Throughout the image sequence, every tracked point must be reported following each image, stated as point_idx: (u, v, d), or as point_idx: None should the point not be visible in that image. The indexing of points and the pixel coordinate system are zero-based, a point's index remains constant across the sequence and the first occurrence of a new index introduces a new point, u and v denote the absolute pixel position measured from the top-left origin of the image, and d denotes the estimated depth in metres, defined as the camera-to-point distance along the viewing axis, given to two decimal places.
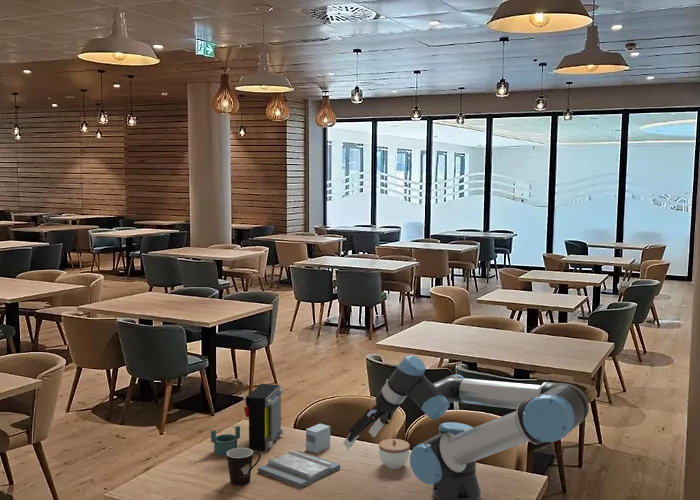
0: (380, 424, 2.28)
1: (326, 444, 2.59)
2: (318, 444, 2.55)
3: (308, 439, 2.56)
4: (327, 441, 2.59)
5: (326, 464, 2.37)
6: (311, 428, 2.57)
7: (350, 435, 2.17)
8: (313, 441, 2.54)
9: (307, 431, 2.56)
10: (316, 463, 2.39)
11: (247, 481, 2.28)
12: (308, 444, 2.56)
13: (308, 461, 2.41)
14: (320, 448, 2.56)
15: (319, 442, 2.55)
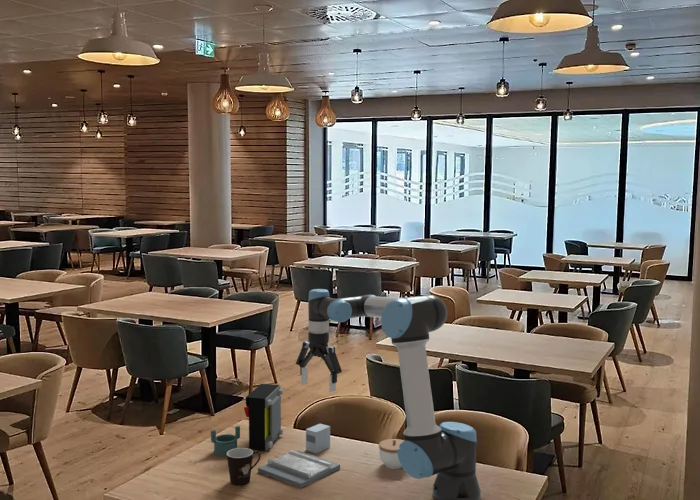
0: None
1: (326, 444, 2.59)
2: (318, 444, 2.55)
3: (308, 439, 2.56)
4: (327, 441, 2.59)
5: (326, 464, 2.37)
6: (311, 428, 2.57)
7: None
8: (313, 441, 2.54)
9: (307, 431, 2.56)
10: (316, 463, 2.39)
11: (247, 481, 2.28)
12: (308, 444, 2.56)
13: (308, 461, 2.41)
14: (320, 448, 2.56)
15: (319, 442, 2.55)
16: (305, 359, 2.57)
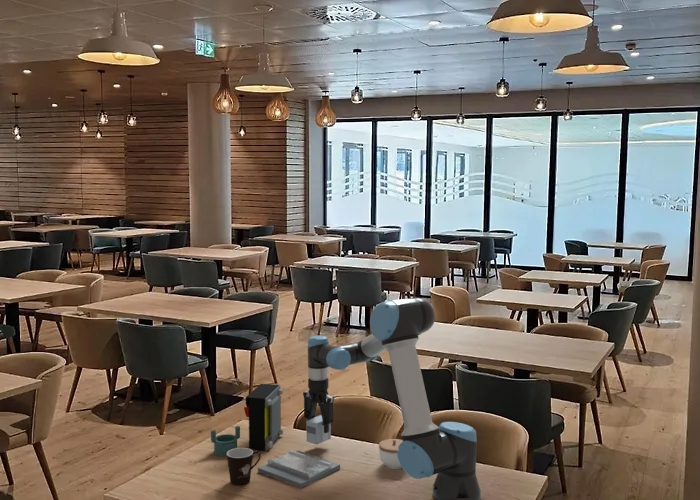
0: None
1: None
2: (319, 436, 2.54)
3: (308, 431, 2.55)
4: (328, 433, 2.58)
5: (326, 464, 2.37)
6: (311, 420, 2.56)
7: None
8: (313, 432, 2.53)
9: (307, 422, 2.55)
10: (316, 463, 2.39)
11: (247, 481, 2.28)
12: (309, 435, 2.55)
13: (308, 461, 2.41)
14: (321, 439, 2.55)
15: (320, 433, 2.55)
16: (310, 410, 2.58)
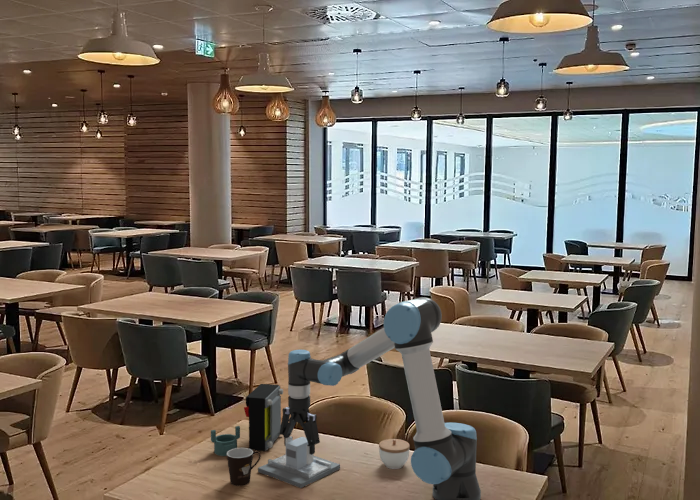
0: None
1: None
2: (299, 460, 2.35)
3: (288, 454, 2.36)
4: None
5: (326, 464, 2.37)
6: (291, 442, 2.37)
7: None
8: (293, 456, 2.34)
9: (287, 445, 2.36)
10: (316, 463, 2.39)
11: (247, 481, 2.28)
12: (288, 459, 2.36)
13: None
14: (302, 463, 2.36)
15: (300, 457, 2.35)
16: (288, 427, 2.39)
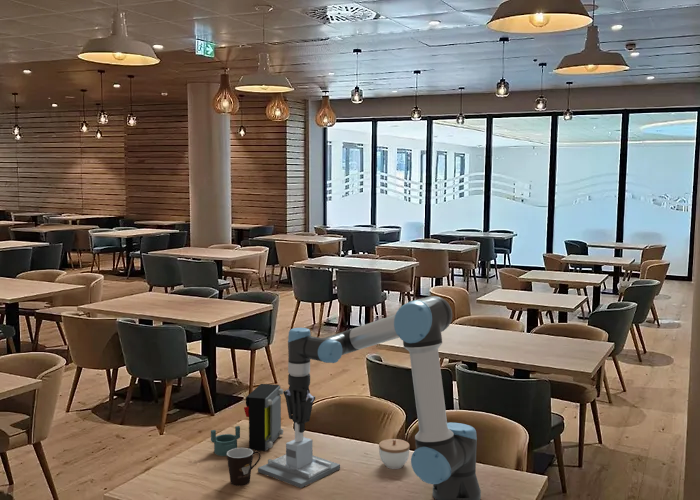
0: None
1: (308, 458, 2.39)
2: (299, 460, 2.35)
3: (288, 454, 2.36)
4: (309, 456, 2.39)
5: (326, 464, 2.37)
6: (291, 442, 2.37)
7: None
8: (293, 456, 2.34)
9: (287, 445, 2.36)
10: (316, 463, 2.39)
11: (247, 481, 2.28)
12: (288, 459, 2.36)
13: None
14: (302, 463, 2.36)
15: (300, 457, 2.35)
16: (294, 410, 2.37)
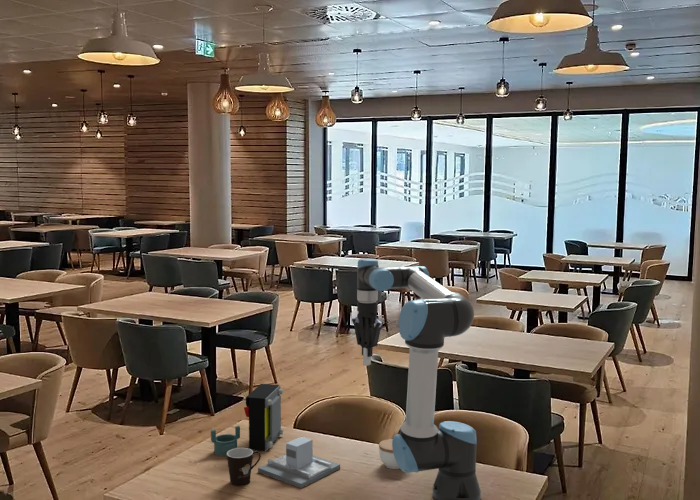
0: None
1: (308, 458, 2.39)
2: (299, 460, 2.35)
3: (288, 454, 2.36)
4: (309, 456, 2.39)
5: (326, 464, 2.37)
6: (291, 442, 2.37)
7: None
8: (293, 456, 2.34)
9: (287, 445, 2.36)
10: (316, 463, 2.39)
11: (247, 481, 2.28)
12: (288, 459, 2.36)
13: None
14: (302, 463, 2.36)
15: (300, 457, 2.35)
16: (362, 335, 2.53)
